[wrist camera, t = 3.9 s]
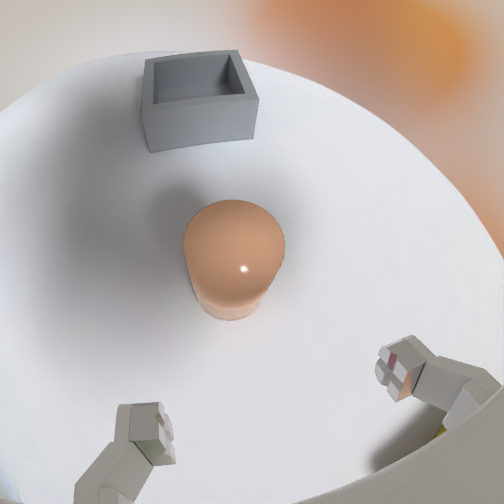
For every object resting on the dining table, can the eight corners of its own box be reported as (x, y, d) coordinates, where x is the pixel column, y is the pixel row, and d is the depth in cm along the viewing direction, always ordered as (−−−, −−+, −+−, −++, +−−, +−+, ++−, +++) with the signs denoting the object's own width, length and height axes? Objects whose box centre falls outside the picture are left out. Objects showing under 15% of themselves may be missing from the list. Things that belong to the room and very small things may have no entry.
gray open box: (150, 152, 25) (141, 113, 21) (150, 93, 29) (145, 59, 24) (253, 138, 27) (259, 99, 23) (234, 83, 31) (237, 49, 26)
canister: (201, 326, 20) (191, 301, 13) (189, 260, 22) (177, 207, 15) (270, 313, 21) (296, 281, 14) (254, 249, 22) (270, 194, 16)
